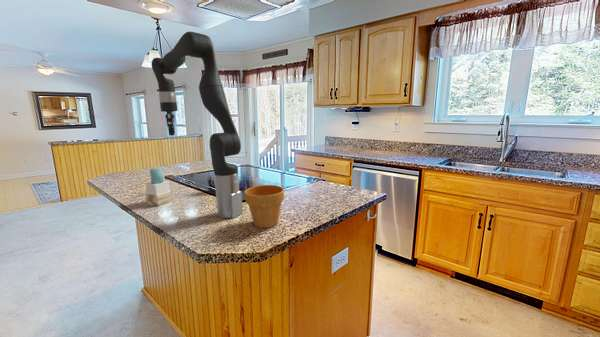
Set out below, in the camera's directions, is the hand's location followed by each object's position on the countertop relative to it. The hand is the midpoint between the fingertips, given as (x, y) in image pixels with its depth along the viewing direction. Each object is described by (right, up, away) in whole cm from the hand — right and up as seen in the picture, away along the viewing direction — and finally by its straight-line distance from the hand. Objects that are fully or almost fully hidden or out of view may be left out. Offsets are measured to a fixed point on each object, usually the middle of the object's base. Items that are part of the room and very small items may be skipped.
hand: (172, 134), depth 141 cm
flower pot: (+51, -38, -36) cm, 73 cm away
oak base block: (-1, -33, -9) cm, 34 cm away
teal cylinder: (-1, -23, -12) cm, 26 cm away
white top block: (-1, -28, -10) cm, 30 cm away
